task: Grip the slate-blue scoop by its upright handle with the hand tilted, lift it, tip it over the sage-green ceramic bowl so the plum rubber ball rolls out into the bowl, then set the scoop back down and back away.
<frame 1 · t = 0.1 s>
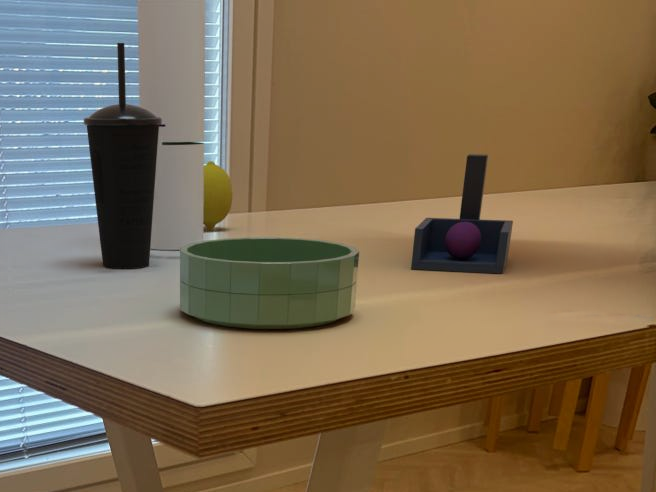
cylindrical container: (172, 247, 119), on the table
lemon: (209, 231, 132), on the table
scoop: (460, 264, 107), on the table, touching ball
ball: (463, 240, 105), point 2 cm above the table, touching scoop
bowl: (266, 313, 85), on the table
drinking cup: (126, 267, 107), on the table
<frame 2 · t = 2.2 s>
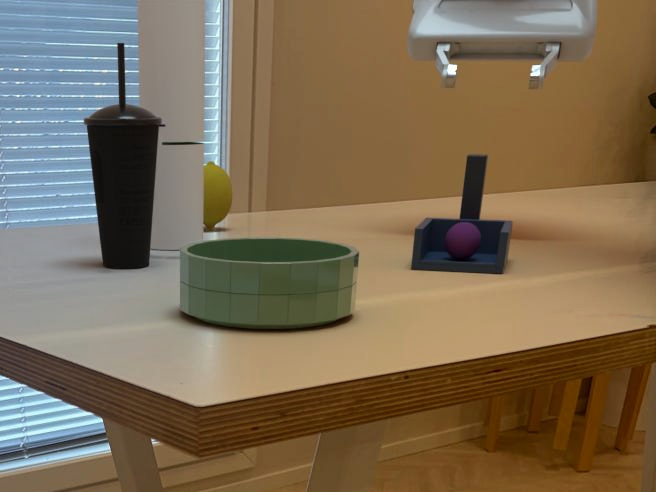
hand: (491, 84, 114), 16 cm above the table, tool tilted 45°, fingers open, 8 cm apart
ball: (462, 241, 105), point 2 cm above the table, tilted 12°, touching scoop
everything else where it was.
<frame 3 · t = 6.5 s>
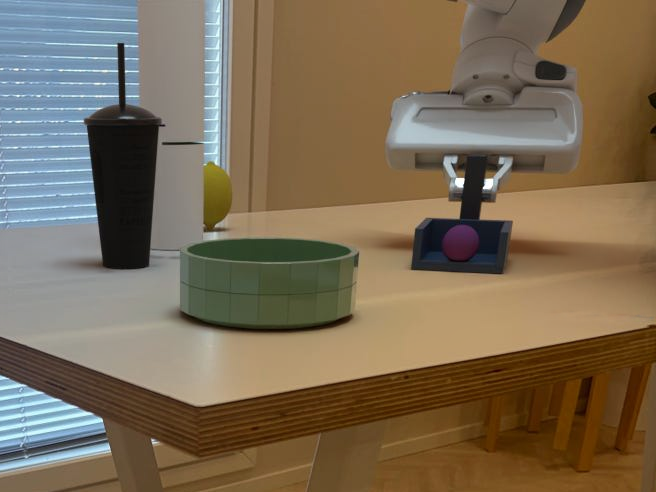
hand: (472, 198, 108), 6 cm above the table, tool tilted 45°, fingers closed on scoop
scoop: (460, 264, 107), on the table, touching ball, gripper
ball: (460, 244, 103), point 2 cm above the table, tilted 90°, touching scoop
everything else where it was.
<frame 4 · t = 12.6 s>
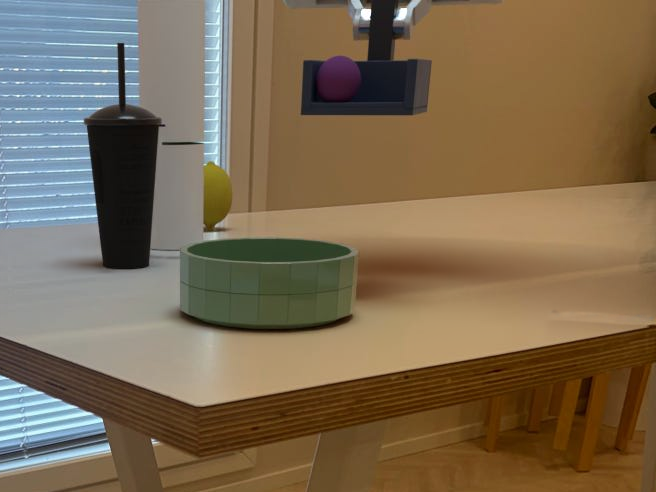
hand: (381, 34, 87), 20 cm above the table, tool tilted 45°, fingers closed on scoop
scoop: (365, 113, 86), point 14 cm above the table, touching ball, gripper
ball: (338, 81, 83), point 17 cm above the table, tilted 84°, touching scoop
everything else where it was.
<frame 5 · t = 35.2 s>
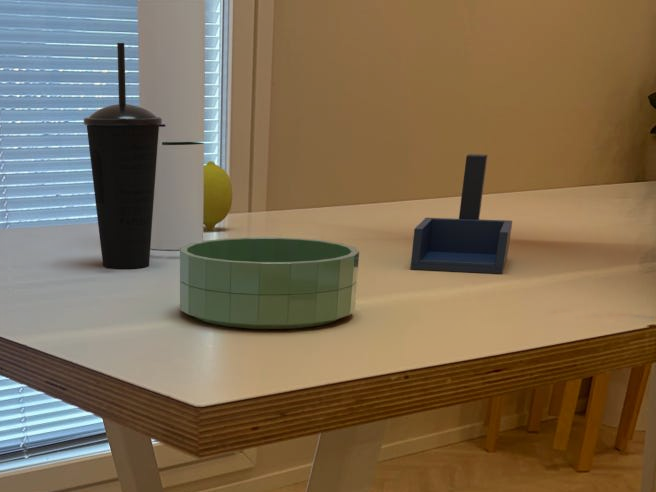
scoop: (459, 264, 107), on the table
ball: (254, 287, 82), point 2 cm above the table, tilted 75°, touching bowl
everything else where it was.
at the end: ball inside the target area in the bowl (1.8 cm from its centre), point 2.3 cm above the bowl's base; scoop tilted 0°; the gripper is holding nothing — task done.
